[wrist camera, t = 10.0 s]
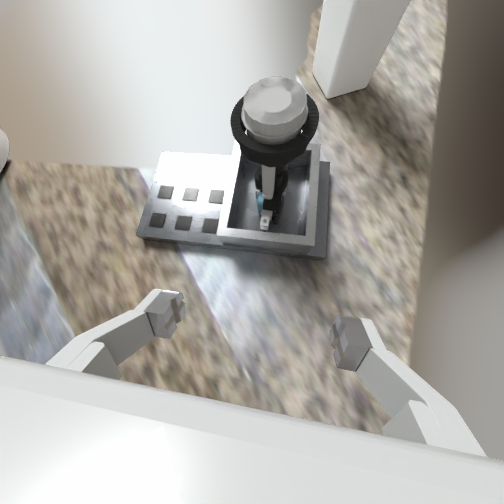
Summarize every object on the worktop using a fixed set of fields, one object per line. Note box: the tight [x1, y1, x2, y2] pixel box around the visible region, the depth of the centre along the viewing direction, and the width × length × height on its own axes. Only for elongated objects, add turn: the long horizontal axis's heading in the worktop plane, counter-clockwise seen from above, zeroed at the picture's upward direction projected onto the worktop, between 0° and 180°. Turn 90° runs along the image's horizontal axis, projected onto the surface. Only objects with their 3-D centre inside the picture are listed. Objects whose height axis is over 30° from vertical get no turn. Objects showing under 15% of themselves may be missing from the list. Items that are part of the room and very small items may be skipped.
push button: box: [231, 76, 319, 230], centre depth 15 cm, size 7×5×10 cm
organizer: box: [136, 140, 330, 260], centre depth 20 cm, size 20×11×4 cm, turn 82°
